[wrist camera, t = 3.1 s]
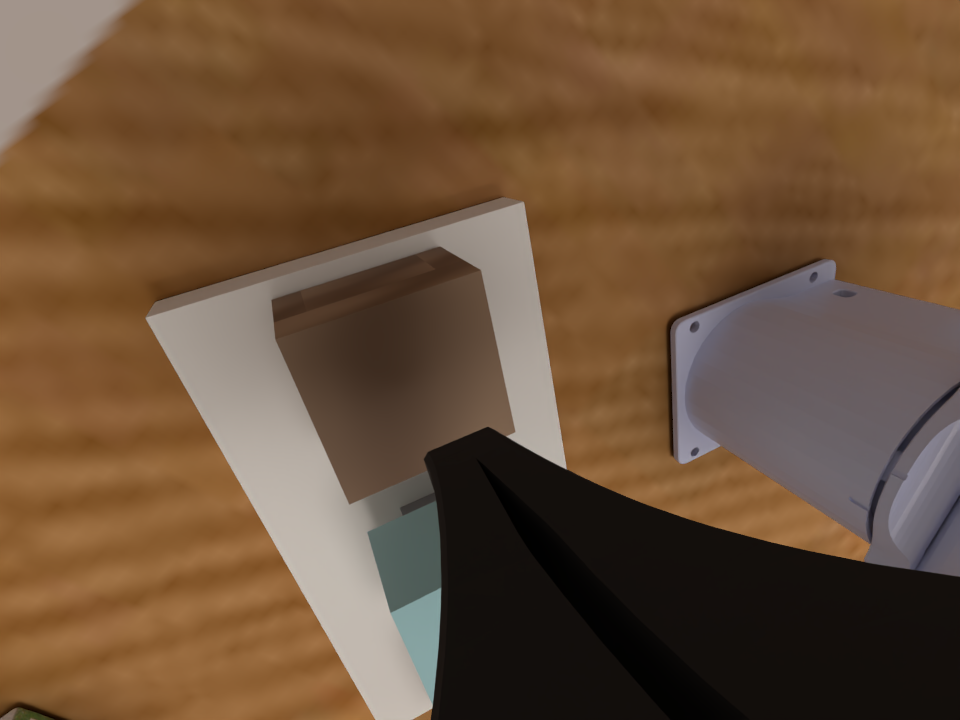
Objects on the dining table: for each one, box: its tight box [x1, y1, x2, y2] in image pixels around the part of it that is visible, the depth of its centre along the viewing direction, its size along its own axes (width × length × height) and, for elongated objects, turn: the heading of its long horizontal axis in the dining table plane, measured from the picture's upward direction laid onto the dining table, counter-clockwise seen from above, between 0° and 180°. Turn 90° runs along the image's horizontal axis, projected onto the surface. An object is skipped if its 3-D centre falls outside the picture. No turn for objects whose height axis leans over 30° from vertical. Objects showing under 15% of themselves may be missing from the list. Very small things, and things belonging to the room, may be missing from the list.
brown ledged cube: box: [271, 247, 515, 505], centre depth 14 cm, size 5×5×3 cm
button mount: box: [146, 197, 567, 720], centre depth 19 cm, size 11×21×4 cm, turn 10°
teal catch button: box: [367, 501, 441, 705], centre depth 16 cm, size 5×5×3 cm
